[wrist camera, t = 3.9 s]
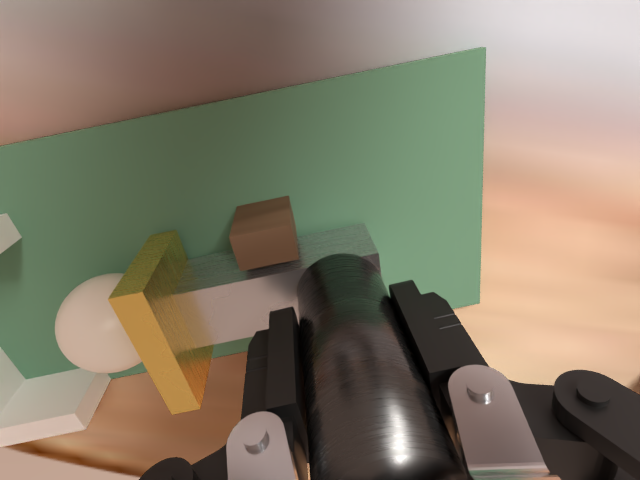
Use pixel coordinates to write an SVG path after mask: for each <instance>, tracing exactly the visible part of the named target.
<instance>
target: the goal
mask: <svg viewBox="0 0 640 480" xmlns="http://www.w3.org/2000/svg"><path fill="white" fill-rule="evenodd" d="M20 238H22V237H21V235H20V233H19V232H18V230H17V229H16V227H15V225H14V224H13V222H12V221H11V219H10V217H9V216H8V214H7V213H5V214H0V254H1V253H2V252H3V251H5V250H6V249H7V248H9V247H10V246H11V245H13V244H14V243H15V242H17V241H18V240H19V239H20ZM110 380H111V378H110V377H109V375H108V373H95V372H90V371H87V370H84V369H82V368H79V369H74V370H69V371H65V372H60V373H55V374H50V375H45V376H40V377H35V378H31V379H25V378H24V377H23V375H22V374H21V373H20V372H19V370H18V369H17V368H16V366H15V365H14V364H13V363H12V361H11V360H10V359H9V358H8V356H7V355H6V354H5V352H4V351H3V350H2V349H1V347H0V447H4V446H9V445H13V444H18V443H23V442H28V441H33V440H38V439H42V438H47V437H52V436H57V435H62V434H67V433H72V432H76V431H81V430H86V429H87V427H88V425H89V423H90V421H91V419H92V417H93V415H94V413H95V411H96V409H97V407H98V405H99V403H100V401H101V399H102V397H103V395H104V393H105V390H106V388H107V386H108V384H109V382H110Z"/></svg>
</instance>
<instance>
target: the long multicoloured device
mask: <svg viewBox="0 0 640 480" xmlns="http://www.w3.org/2000/svg"><path fill="white" fill-rule="evenodd" d="M297 243H298V254H299V259H297V260H293V261H288V262H283V263H278V264H273V265H268V266H263V267H259V268H254V269H249V270H244V271H240V269H239V266H238V263H237V260H236V257H235V254H234V251H233V250H230V251H225V252H220V253H215V254H210V255H205V256H201V257H196V258H191V259H188V257H187V255H186V252H185V250H184V247H183V245H182V242H181V240H180V238H179V235H178V233H177V230H173V231H168V232H163V233H158V234H153V235H150V236H149V238H148V239H147V241H146V242H145V244H144V245H143V247H142V248H141V250H140V251H139V253H138V254H137V256H136V257H135V259H134V260H133V262H132V263H131V265H130V266H129V268H128V269H127V271H126V272H125V274H124V275H123V277H122V278H121V280H120V281H119V283H118V284H117V286H116V287H115V289H114V290H113V292H112V293H111V295H110V296H109V298H108V301H109V303H110V305H111V306H112V308H113V310H114V312H115V314H116V315H117V317H118V319H119V321H120V323H121V324H122V326H123V328H124V330H125V332H126V333H127V335H128V337H129V339H130V341H131V342H132V344H133V346H134V348H135V350H136V351H137V353H138V355H139V357H140V359H141V360H142V362H143V364H144V366H145V368H146V369H147V371H148V373H149V375H150V377H151V378H152V380H153V382H154V384H155V386H156V387H157V389H158V391H159V393H160V395H161V396H162V398H163V400H164V402H165V404H166V405H167V407H168V409H169V411H170V413H171V414H172V415H174V414H179V413H183V412H188V411H193V410H198V409H201V404H202V399H203V395H204V390H205V385H206V381H207V376H208V371H209V367H210V362H211V357H212V352H213V348H214V344H219V343H223V342H228V341H233V340H238V339H243V338H248V337H253V336H254V335H255V333H256V331H261V330H265V329H269V313H270V311H274V310H279V309H283V308H288V307H292V306H293V308H294V310H295V313H296V316H297V320H298V323H299V327H300V341H301V355H302V369H303V383H304V396H305V410H306V424H307V438H308V452H309V465H310V479H311V480H468V479H467V475H466V471H465V468H464V466H463V464H462V461H461V459H460V457H459V455H458V452H457V450H456V448H455V445H454V443H453V441H452V438H451V436H450V434H449V432H448V429H447V427H446V425H445V422H444V420H443V418H442V416H441V413H440V411H439V409H438V406H437V404H436V402H435V399H434V397H433V395H432V393H431V391H430V389H429V386H428V384H427V382H426V379H425V377H424V375H423V372H422V370H421V368H420V365H419V363H418V361H417V359H416V356H415V354H414V352H413V349H412V347H411V345H410V342H409V340H408V338H407V335H406V333H405V331H404V328H403V326H402V324H401V321H400V319H399V317H398V315H397V312H396V310H395V308H394V305H393V303H392V301H391V298H390V296H389V294H388V291H387V289H386V287H385V284H384V282H383V280H382V276H381V268H380V260H379V253H378V251H377V248H376V246H375V244H374V242H373V240H372V238H371V236H370V234H369V231H368V229H367V227H366V225H365V223H361V224H356V225H351V226H346V227H342V228H337V229H332V230H327V231H322V232H317V233H312V234H307V235H303V236H298V237H297Z"/></svg>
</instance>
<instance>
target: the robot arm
mask: <svg viewBox="0 0 640 480" xmlns="http://www.w3.org/2000/svg"><path fill="white" fill-rule="evenodd" d="M389 293H390V298H391V301H392V303H393V305H394V308H395V310H396V312H397V315H398V317H399V319H400V321H401V324H402V326H403V328H404V331H405V333H406V335H407V338H408V340H409V342H410V345H411V347H412V349H413V352H414V354H415V356H416V359H417V361H418V363H419V365H420V368H421V370H422V372H423V375H424V377H425V379H426V382H427V384H428V386H429V389H430V391H431V393H432V395H433V397H434V399H435V402H436V404H437V406H438V409H439V411H440V413H441V416H442V418H443V420H444V422H445V425H446V427H447V429H448V432H449V434H450V436H451V438H452V441H453V443H454V445H455V448H456V450H457V452H458V455H459V457H460V459H461V461H462V464H463V466H464V468H465V471H466V475H467V479H468V480H640V395H639V394H637V393H635V392H633V391H632V390H630V389H628V388H626V387H625V386H623V385H621V384H620V383H618V382H616V381H614V380H613V379H611V378H609V377H607V376H605V375H602V374H600V373H596V372H593V371H587V370H572V371H568V372H565V373H563V374H562V375H560V376H559V377H558V378H557V379H556V381H555V384H554V386H552V385H536V384H524V383H518V382H514V381H511V380H508V379H507V378H506V377H505V376H504V375H503V374H502V373H500V372H499V371H497V370H495V369H493V368H490V367H489V366H488V364H487V363H486V362H485V360H484V358H483V357H482V355H481V354H480V352H479V351H478V349H477V347H476V346H475V344H474V343H473V341H472V340H471V338H470V336H469V335H468V333H467V332H466V330H465V329H464V327H463V325H461V322H460V321H459V319H458V318H457V316H456V315H455V313H454V311H453V310H452V308H451V306H450V305H449V303H448V302H447V300H445V299H444V298H442V297H441V296H439V295H438V294H436V293H435V292H430V293H426V294H420V292H419V290H418V288H417V286H416V284H415V283H414V281H413V280H408V281H403V282H399V283H395V284H390V285H389ZM307 463H309V452H308V438H307V424H306V410H305V396H304V383H303V369H302V355H301V341H300V327H299V323H298V320H297V316H296V313H295V310H294V308H293V306H292V307H288V308H283V309H279V310H274V311H270V313H269V329H265V330H261V331H256V333H255V335H254V336H253V338H252V340H251V342H250V343H249V345H248V355H247V365H246V374H245V384H244V394H243V404H242V414H241V421H240V422H238V423H237V425H236V426H235V427H234V428H233V430H232V431H231V433H230V435H229V437H228V440H227V444H226V445H225V446H223V447H222V448H221V449H219V450H218V451H216V452H215V453H213V454H211V455H209V456H207V457H206V458H204V459H202V460H200V461H198V462H197V463H195V464H193V465H190V464H189V462H188V461H186V460H185V459H182V458H178V457H174V458H168V459H165V460H162V461H160V462H158V463H157V464H155V465H154V466H152V467H151V468H150V469H149V470H147V471H146V472H145V473H144V474H143V475H142V477H141V478H140V479H139V480H308V471H307Z"/></svg>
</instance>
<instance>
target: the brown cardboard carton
mask: <svg viewBox="0 0 640 480" xmlns="http://www.w3.org/2000/svg"><path fill="white" fill-rule="evenodd" d="M229 239H230V242H231V245H232V248H233V251H234V254H235V257H236V260H237V263H238V266H239V269H240V271H244V270H249V269H254V268H259V267H263V266H268V265H273V264H278V263H283V262H288V261H293V260H297V259H299V254H298V243H297V232H296V224H295V220H294V216H293V211H292V207H291V203H290V198H289V196H284V197H279V198H274V199H269V200H264V201H259V202H255V203H250V204H245V205H240V206H237V208H236V212H235V216H234V220H233V223H232V227H231V231H230V235H229Z"/></svg>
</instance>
